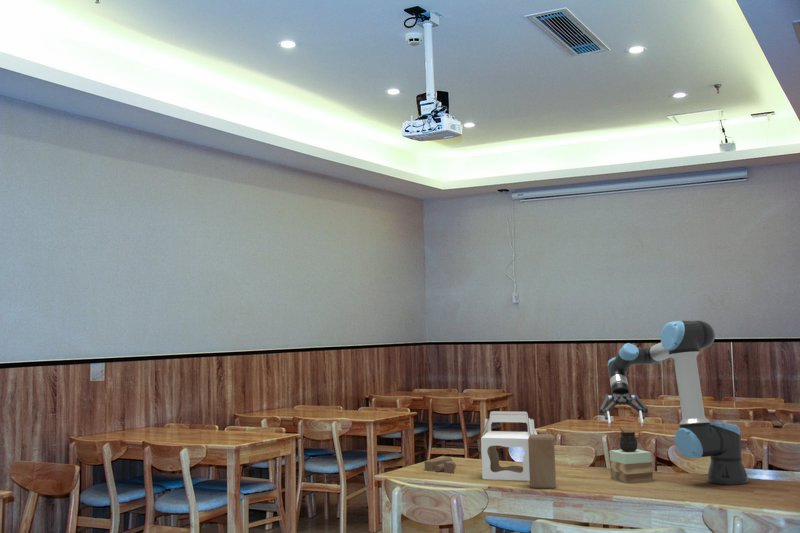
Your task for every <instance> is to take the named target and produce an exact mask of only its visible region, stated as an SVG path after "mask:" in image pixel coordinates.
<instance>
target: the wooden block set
mask: <svg viewBox="0 0 800 533" xmlns="http://www.w3.org/2000/svg"><path fill="white" fill-rule="evenodd" d="M456 467H457V464H456V462H454V461H453V458H452V457H451V456H446V457H441V458H433V459H428V460H425V461H424V471H426V470H427V471H428V472H436V473H441V472H444V473H445V474H455V469H456Z"/></svg>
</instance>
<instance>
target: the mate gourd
mask: <svg viewBox="0 0 800 533" xmlns="http://www.w3.org/2000/svg"><path fill="white" fill-rule="evenodd" d="M618 428H619V429H620V430H621V432H620V435H621V437H620V439H619V448H620V450H623V451H625V452H634V451H635V450H636V449H638V440H637V439H636V435H635V434H636V431H634V430H625V431H624V430H623V428H621V426H618Z"/></svg>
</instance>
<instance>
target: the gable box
mask: <svg viewBox="0 0 800 533" xmlns="http://www.w3.org/2000/svg"><path fill="white" fill-rule="evenodd" d="M493 423H525V424H526V427H527V431H521V430H520V431H519V430H517V431H516V430H515V431H513V430H508V431H507V430H493V429H492V424H493ZM535 427H536V426H535V419H534V418H530V417H529V414H528V411H520V410H519V411H507V410H506V411H505V410H502V411H501V410H499V411H498V410H496V411H494V410H493V411H490V413H489V418H484V429H483V431H482V434H481V437H480V446H481V447H480V448H481V453H480V454H481V475H482V480H492V481H493V480H495V481H497V480H498V481H517V482H520V481H521V482H530V474H529V448H528V438H529V436H530V435H531V434H538V432H537V430H536V428H535ZM498 446H499V447H504V448H518V447H519V448H522V449H524V452H525V453H524V456H523V459H522V466H520V465H508V466H501V465H500V456H499V452H498V450H497V447H498Z"/></svg>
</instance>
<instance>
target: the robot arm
mask: <svg viewBox="0 0 800 533" xmlns="http://www.w3.org/2000/svg"><path fill="white" fill-rule="evenodd" d="M660 333H661V334H660V342H658V343H657V344H652V345H651V346H648V347H638V346H636V345H635V344H633V343H632V344H631V343H630V342H627V343H625V344H623V346H622V347H621V348H620V349H619V350H618V352H617V355H616V356H615V357H612V358H610V359H609V360H608V361H607V372H608V373H607V374H608V378H609V383H610V389H611V390H610V391H611V394H610V395H609V394H608V393H606V394H605V398H604V400H603V402H602V403H601V406H600V408H599V414H601V415H602V414H603V415H604V416H603V417H604V420H605V421H607V425H608V428H610V427H611V424H612V421H611V416H610V411H612V410H613V409H614V407H616V406H617V405H619V406H621V405H625V406H626V405H628V406H629V407H631V408H632V409H634V410H635V411H637V412H638V413H639V414H638V416H639V417H638V418H639V422H640V427H641V428H642V427H644V420H645V419H646V418H645V417H646V415H645V414H647V413H648V411H649V407H647V405H646V404H645V403H644V402H643V401H642V400H641V399H640V398H639V395H638V393H636V392H635V393H634V394H632V395H631V393H630V388H629V382H628V378H627V372H628V370H629V369H630V368H631V367H632V366H636V365H639V366H640V365H659V364H662V363H663V361H664V360H666V359H673V362H674V369H675V370H674V371H675V377H676V378H675V379H676V384H677V391H678V398H679V403H680V404H679V405H680V410H681V418H682V419H681V421H680V422H679V424H678V425H679V429H677V430H676V431H675V434H674V443H675V446H676V447H677V450H678V452H680V454H681V455H682V456H684V457H686V458H689V459H699V458H707V457H708V458H709V457H710V464H709V467H708V471H707V474H706V475H707V476H706V481H707V482H709V483H712V484H717V485H731V486H732V485H733V486H735V485H745V484H747V483H749V477H748V474H747V471H746V470H745V466H744V464H743V457H742V440H741V439H742V435H741V428H740V427H739V426H738V424H732V423H725V422H717V421H715V422H713V421H710V420H708V419H707V418H706V415H705V409H704V400H703V395H702V388H701V382H700V374H699V368H698V361H697V357H698V356H699V354H700V350H703V349H708V348H709V347H711V346H712V345H713V343H714V341H715V338H716V334H715V330H714V328H713V326H712V325H711V324H709V323H708V322H706V321H703V320H674V321H670V322H666V324H664V326H663V328H662V329H661V332H660ZM610 400H612V401H611V402H610ZM609 402H610V403H609ZM608 403H609V404H608Z"/></svg>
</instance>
